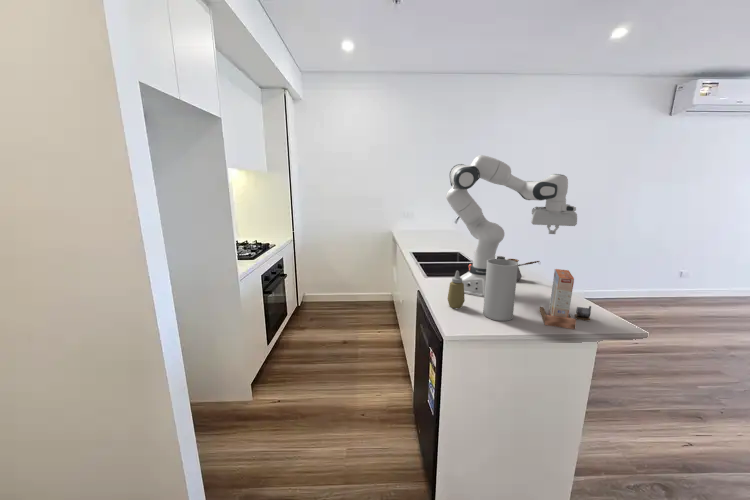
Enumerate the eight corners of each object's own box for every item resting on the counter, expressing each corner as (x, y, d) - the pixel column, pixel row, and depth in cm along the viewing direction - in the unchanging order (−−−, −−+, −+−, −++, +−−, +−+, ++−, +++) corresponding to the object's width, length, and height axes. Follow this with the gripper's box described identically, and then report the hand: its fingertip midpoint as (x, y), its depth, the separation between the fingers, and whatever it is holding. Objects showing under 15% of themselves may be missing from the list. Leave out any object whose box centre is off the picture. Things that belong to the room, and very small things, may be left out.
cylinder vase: (477, 311, 141) (481, 259, 136) (500, 308, 145) (504, 258, 140) (494, 323, 130) (499, 266, 124) (519, 319, 133) (524, 264, 128)
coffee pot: (497, 279, 190) (499, 256, 187) (506, 276, 197) (508, 253, 194) (533, 288, 174) (536, 262, 171) (541, 283, 182) (544, 259, 179)
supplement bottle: (506, 276, 197) (507, 258, 194) (494, 275, 198) (496, 257, 195) (503, 273, 203) (505, 255, 201) (493, 272, 204) (494, 255, 202)
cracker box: (568, 326, 127) (575, 278, 123) (551, 323, 130) (557, 276, 125) (563, 313, 139) (569, 269, 135) (548, 311, 142) (554, 268, 138)
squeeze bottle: (452, 302, 153) (454, 267, 149) (467, 306, 147) (469, 271, 144) (443, 306, 148) (445, 271, 144) (458, 311, 142) (460, 274, 138)
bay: (544, 324, 128) (545, 316, 127) (539, 310, 143) (540, 302, 142) (574, 329, 124) (576, 320, 123) (566, 314, 139) (567, 305, 138)
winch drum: (576, 319, 133) (578, 307, 132) (574, 315, 137) (576, 304, 136) (591, 321, 131) (593, 309, 130) (588, 317, 135) (590, 305, 134)
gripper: (533, 206, 155) (530, 233, 157) (579, 207, 147) (576, 235, 150) (531, 206, 160) (528, 232, 163) (576, 207, 153) (573, 234, 156)
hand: (551, 233), depth 157 cm, fingers closed
